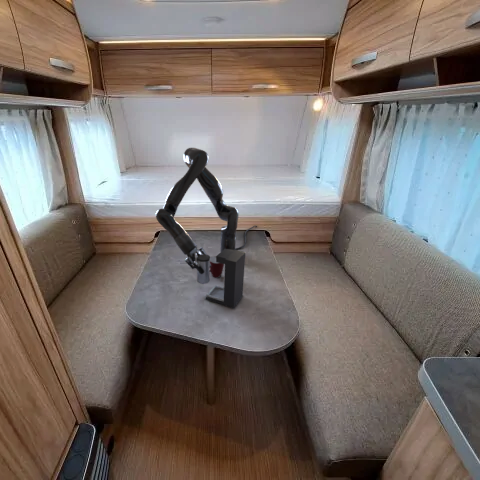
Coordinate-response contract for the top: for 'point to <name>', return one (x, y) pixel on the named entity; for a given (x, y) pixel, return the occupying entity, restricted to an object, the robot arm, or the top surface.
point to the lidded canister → (204, 268)
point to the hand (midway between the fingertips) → (206, 270)
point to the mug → (216, 267)
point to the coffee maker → (229, 278)
